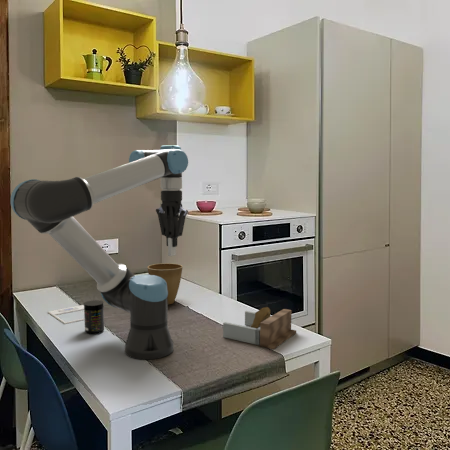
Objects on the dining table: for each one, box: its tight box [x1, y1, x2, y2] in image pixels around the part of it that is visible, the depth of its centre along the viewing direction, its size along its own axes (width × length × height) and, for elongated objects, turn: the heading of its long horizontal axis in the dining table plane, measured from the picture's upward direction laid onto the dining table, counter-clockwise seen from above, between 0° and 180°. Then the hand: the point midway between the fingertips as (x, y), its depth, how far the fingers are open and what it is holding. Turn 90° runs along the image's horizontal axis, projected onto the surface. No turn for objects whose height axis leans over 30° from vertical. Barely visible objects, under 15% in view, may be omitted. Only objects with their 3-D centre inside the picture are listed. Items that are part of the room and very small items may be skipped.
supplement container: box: [83, 299, 105, 335], centre depth 166 cm, size 7×7×10 cm
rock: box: [250, 306, 271, 329], centre depth 165 cm, size 11×9×10 cm
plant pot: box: [147, 262, 183, 305], centre depth 203 cm, size 15×15×16 cm
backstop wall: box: [259, 308, 297, 350], centre depth 160 cm, size 18×5×8 cm, turn 148°
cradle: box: [222, 310, 272, 346], centre depth 165 cm, size 16×14×5 cm
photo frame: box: [47, 304, 84, 325], centre depth 186 cm, size 15×1×18 cm
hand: (172, 255), depth 169 cm, fingers closed
